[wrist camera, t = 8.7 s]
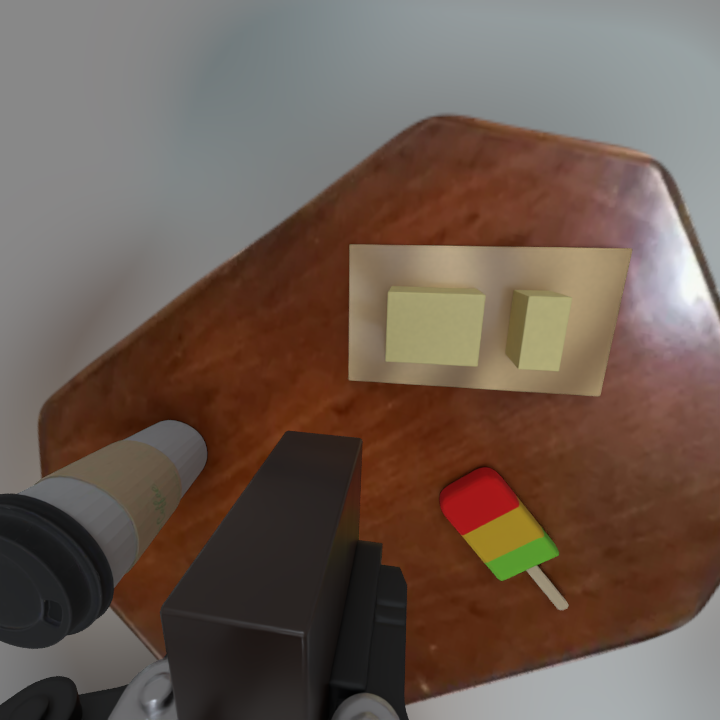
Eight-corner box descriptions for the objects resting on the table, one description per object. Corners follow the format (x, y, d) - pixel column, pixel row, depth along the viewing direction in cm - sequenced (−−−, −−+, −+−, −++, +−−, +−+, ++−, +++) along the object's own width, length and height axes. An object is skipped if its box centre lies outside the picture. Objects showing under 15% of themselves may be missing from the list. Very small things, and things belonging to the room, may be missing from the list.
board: (350, 376, 29) (348, 380, 28) (351, 244, 26) (349, 244, 25) (593, 391, 27) (600, 396, 26) (624, 248, 24) (633, 248, 23)
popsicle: (488, 458, 30) (493, 472, 28) (590, 586, 32) (600, 606, 30) (432, 491, 31) (433, 506, 29) (532, 610, 33) (539, 630, 31)
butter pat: (504, 354, 26) (518, 369, 23) (513, 289, 25) (528, 295, 21) (540, 355, 26) (559, 371, 22) (551, 290, 24) (572, 297, 21)
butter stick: (388, 348, 27) (385, 362, 24) (391, 286, 26) (387, 291, 22) (469, 352, 26) (477, 367, 23) (476, 288, 25) (486, 294, 22)
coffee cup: (237, 489, 34) (109, 662, 20) (148, 494, 36) (-29, 657, 22) (209, 395, 32) (41, 515, 17) (115, 405, 33) (-109, 522, 19)
